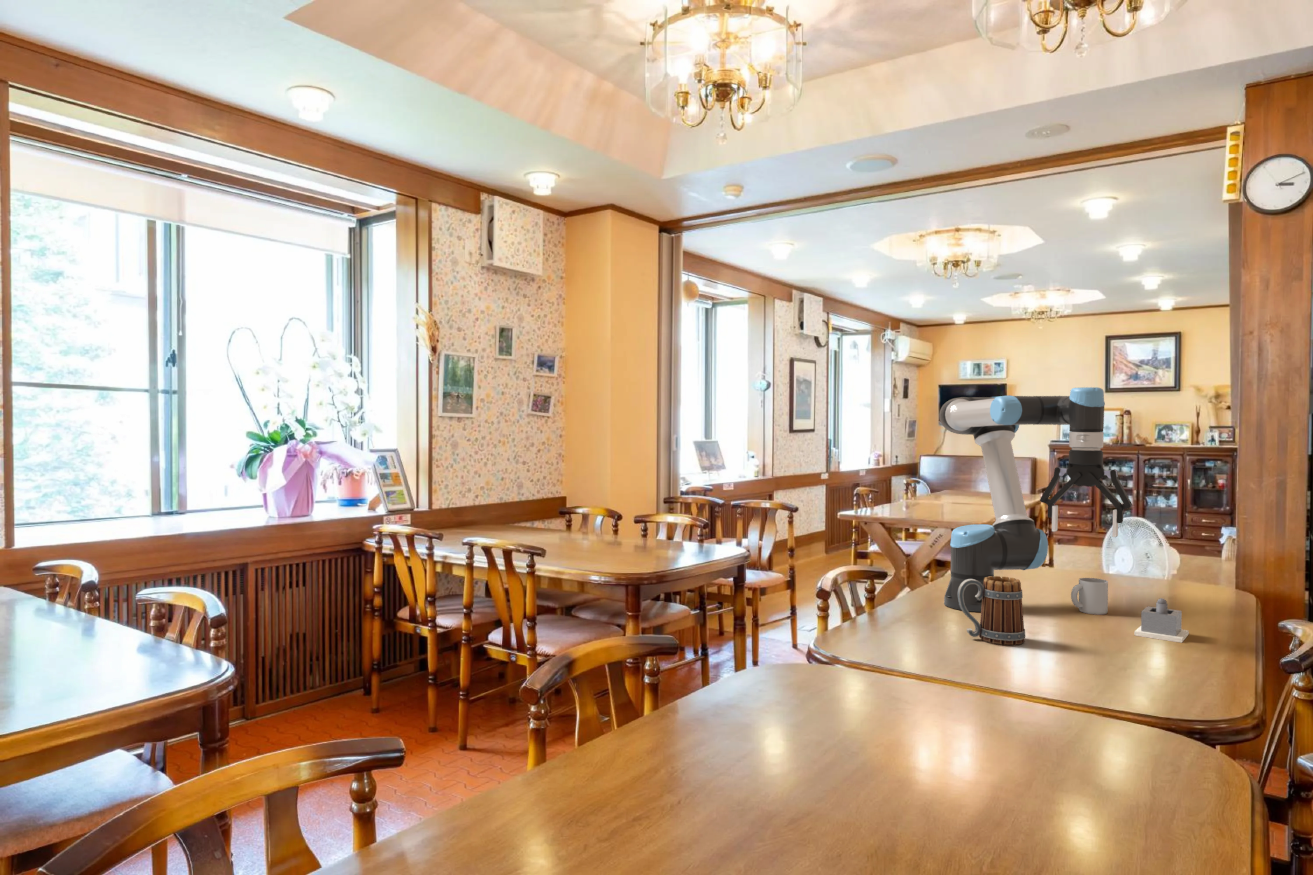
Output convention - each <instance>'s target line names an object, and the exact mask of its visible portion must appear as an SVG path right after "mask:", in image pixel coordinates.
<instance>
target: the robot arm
mask: <svg viewBox="0 0 1313 875" xmlns="http://www.w3.org/2000/svg"><path fill="white" fill-rule="evenodd" d="M1105 405H1106V404H1105V391H1104V389H1103V388H1102V387H1095V386H1094V387H1092V386H1091V387H1088V386H1087V387H1085V386H1084V387H1073V388H1071V389H1070V392H1069V395H1010V394H1009V395H1002V396H1001V395H1000V396H990V397H987V396H986V397H985V396H982V397H980V396H979V397H972V396H971V397H966V396H961V397H954V398H951V399H949V400H948V401H946V402H945V403H944V404H942V406H941V408H940V410H939V421H940V424H941V425H942V427H943V428H944V429H946V430H947V431H949V432H951V433H953V434H957V435H964V436H965V435H972V436H973V440H974V443H975V444H976V445H977V446H979V447H981V452H982V458H983V462H984V467H985V474H986V478H987V483H988V487H989V488H988V489H989V492H990V497H991V502H992V508H993V512H994V518H995V521H994V522H993V523H992V525H991V524H982V523H981V524H979V523H977V524H967V525H962V526H958V527H955V528H954V529H953V530H952V532H951V536H950V537H951V538H950V542H949V545H950V580H949V582H948V584H947V585H948V586H947V588H946V591H945V594H944V598H943V604H944V605H945V607H948V608H950V609H954V610H959V611H962V609H961V608H960V605H959V601H958V589H959V586H960V584H961V583H962V582H963V581H965V580H967V579H975V580H977V581H979V582H980V583H981V584H982V585H983V584H984V579H985V577H989V576H993V578H994V576H995V571H1001V570H1002V571H1004V570H1005V571H1010V570H1011V571H1012V570H1013V571H1017V570H1022V571H1026V570H1035V569H1039V568H1040V567H1041V566H1042V565H1043V564H1044V563H1045V561H1046V559H1047V556H1048V552H1049V541H1048V537H1047V534H1046V533H1045V532H1044V530H1043V529H1041V528H1036V525H1035V520H1034V519H1032V518H1030V517H1029V516H1028V514H1027V510H1026V505H1025V500H1024V496H1023V492H1022V490H1023V489H1022V488H1021V487H1022V486H1021V481H1020V477H1019V472H1018V468H1017V463H1016V459H1015V458H1016V457H1015V454H1014V449H1013V445H1012V440H1014V438H1015V436H1016V433H1017V431H1018V430H1019V427H1020V426H1022V425H1026V426H1028V425H1033V426H1035V425H1038V426H1039V425H1043V426H1045V425H1046V426H1048V425H1050V426H1052V425H1053V426H1056V425H1057V426H1062V425H1064V426H1066V425H1068V426H1069V432H1068V434H1069V435H1068V436H1069V437H1068V438H1069V439H1068V441H1069V442H1068V447H1069V448H1071V449H1069V451H1068V467H1067V468H1065V467H1063V468H1062V467H1060V466H1058V467H1055V468H1054V469H1053V470H1054V472H1053V475H1052V476H1053V477H1052V478H1051V480H1050V482H1049V483H1048V485H1047V487H1046V488H1045V490H1044V492H1043V493H1042V495H1041V497H1040V499H1039V501H1040V503H1043V504H1046V505H1047V517H1048V518H1049V519H1051V532H1055V533H1056V532H1057V531H1058V527H1059V526H1058V525H1059V524H1058V523H1059V522H1058V521H1059V520H1058V518H1059V517H1058V516H1059V505H1058V504H1056V503H1057V502H1058V501H1059V500H1060V499H1061V498H1062V497H1064V495H1065V494H1066V493H1067V492H1068V491H1069V490H1070V489H1071V488H1072V487H1073V486H1077V487H1089V488H1091V487H1096V488H1097V489H1098V490H1099V491H1100V492H1101V493H1102V494H1103V496H1105V497H1106V499H1107V500H1108V501H1109V502H1110V503H1111V504H1112V506H1113V507H1115V508H1114V509H1113V510H1112V537H1113V538H1116V537H1118V536H1119V524H1122V523H1123V522H1124V512H1125V510H1126V509H1131V508H1132V507H1133V503H1132V501H1131V499H1130V497H1129V495H1128V494H1127V492H1126V490H1125V488H1124V486H1123V484H1122V482H1121V481H1120V479H1119V475H1118V474H1119V472H1118V470H1117V469H1115V468H1113V469H1109V470H1105V469H1104V451H1103V450H1101V449H1103V448H1104V428H1105V427H1104V425H1105V424H1104V423H1105ZM1065 474H1066V475H1067V476H1068V477H1069V478H1070V479H1069V480H1068V481H1067V482H1066V483H1065V484H1064V485H1063V486H1062V487H1061V488H1060V489H1059V490H1058V491H1057V492H1056V493H1055V494H1054V495H1053V496H1052V497H1051V495H1052V493H1053V491H1054V489H1056V488H1055V487H1056V486H1057V484H1058V483H1059V481H1060V479H1061V478H1062V477H1063V476H1064V475H1065ZM1105 476H1107V478H1108V479H1110V480H1111V483H1112V485H1113V487H1114V488H1115V491H1116V492H1117V494H1118V496H1119V498H1120V499H1121V501H1119V499H1118V498H1117V497H1116V496H1115V495H1114V494H1113V492H1112V491H1111V490H1110V489H1109V488H1108V487H1107V486H1106V485H1105V483H1104V482H1103V480H1102V479H1103V477H1105ZM1050 497H1051V498H1050ZM977 594H978V586H977V585H976V584H970V585H968V586H967V587H966V588H965V590H964V594H963V597H964V603H965V606H966V609H967V610H968V612H975V613H976V612H980V613H981V607H982V599H981V600H978V599H977V598H976V597H975V596H976V595H977Z"/></svg>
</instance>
